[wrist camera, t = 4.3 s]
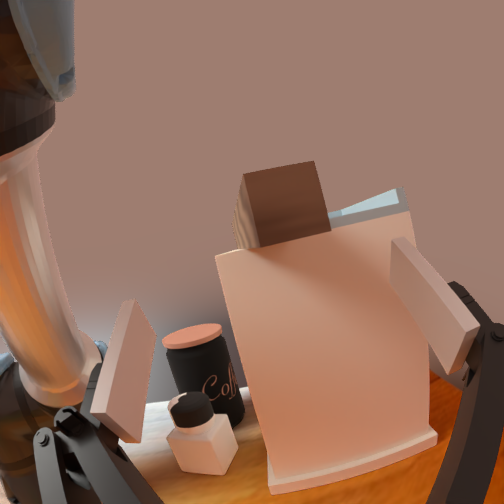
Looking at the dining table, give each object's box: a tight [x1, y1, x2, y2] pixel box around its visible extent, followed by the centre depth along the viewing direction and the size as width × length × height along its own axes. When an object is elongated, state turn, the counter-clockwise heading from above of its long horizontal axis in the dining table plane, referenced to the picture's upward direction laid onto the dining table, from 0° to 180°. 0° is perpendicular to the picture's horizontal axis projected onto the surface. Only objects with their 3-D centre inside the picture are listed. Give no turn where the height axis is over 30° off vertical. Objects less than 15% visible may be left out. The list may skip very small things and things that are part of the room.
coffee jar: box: [162, 324, 245, 428], centre depth 51 cm, size 11×11×18 cm
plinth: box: [215, 211, 438, 495], centre depth 40 cm, size 24×22×30 cm
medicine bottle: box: [167, 392, 238, 475], centre depth 38 cm, size 7×7×12 cm
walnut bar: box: [232, 161, 332, 249], centre depth 32 cm, size 32×4×4 cm, turn 5°
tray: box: [328, 187, 409, 229], centre depth 40 cm, size 23×12×2 cm, turn 178°
